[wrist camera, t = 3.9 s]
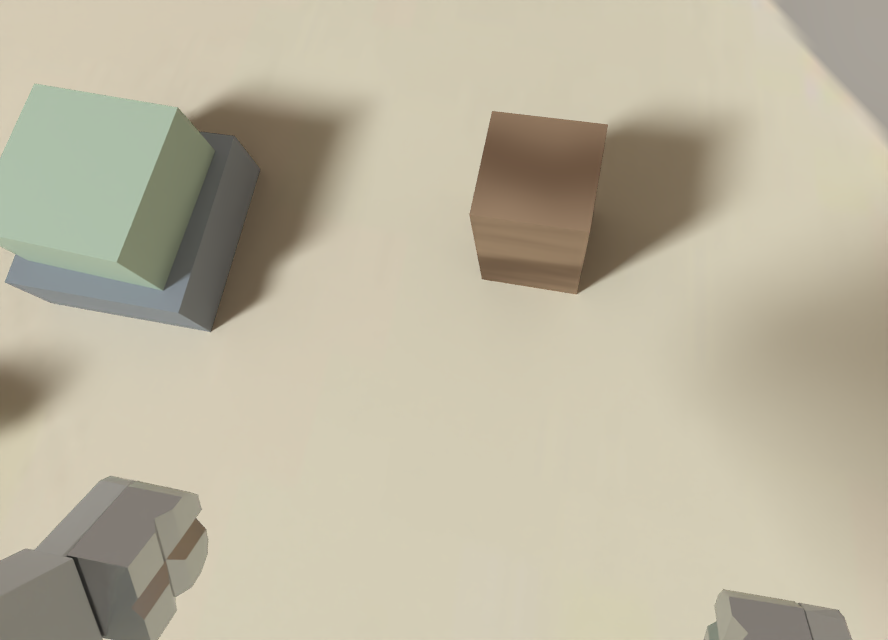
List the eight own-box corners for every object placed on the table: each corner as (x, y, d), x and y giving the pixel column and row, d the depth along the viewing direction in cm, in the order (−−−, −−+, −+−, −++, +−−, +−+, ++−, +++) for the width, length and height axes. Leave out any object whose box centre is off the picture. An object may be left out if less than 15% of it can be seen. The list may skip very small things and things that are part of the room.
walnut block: (576, 294, 35) (589, 232, 27) (482, 279, 36) (469, 214, 28) (591, 207, 36) (607, 124, 29) (499, 194, 37) (492, 111, 29)
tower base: (214, 333, 37) (178, 312, 33) (56, 305, 39) (4, 282, 35) (262, 172, 40) (234, 135, 36) (112, 152, 41) (69, 115, 38)
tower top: (163, 290, 34) (116, 262, 30) (28, 260, 35) (-33, 229, 32) (215, 150, 36) (177, 107, 32) (85, 127, 37) (34, 83, 33)
